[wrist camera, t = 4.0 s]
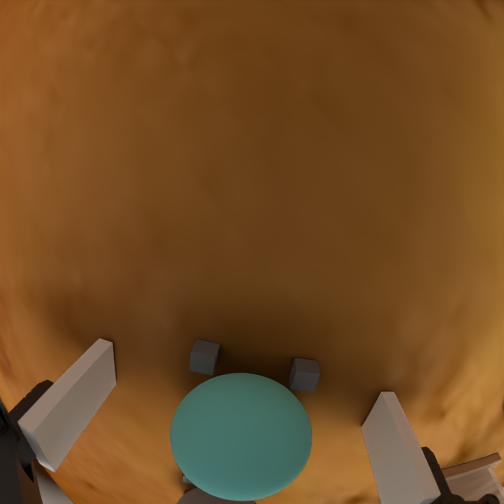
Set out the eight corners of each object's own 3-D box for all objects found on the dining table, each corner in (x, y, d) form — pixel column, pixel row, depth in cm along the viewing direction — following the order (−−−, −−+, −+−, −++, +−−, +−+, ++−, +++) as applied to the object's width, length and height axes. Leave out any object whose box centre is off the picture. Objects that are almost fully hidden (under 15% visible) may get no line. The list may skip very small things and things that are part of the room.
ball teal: (193, 335, 12) (146, 427, 6) (321, 358, 12) (343, 458, 6) (186, 419, 13) (156, 502, 8) (289, 438, 13) (291, 524, 8)
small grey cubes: (196, 339, 12) (190, 351, 11) (317, 360, 12) (320, 374, 11) (185, 495, 15) (182, 504, 14) (253, 507, 15) (252, 517, 14)
